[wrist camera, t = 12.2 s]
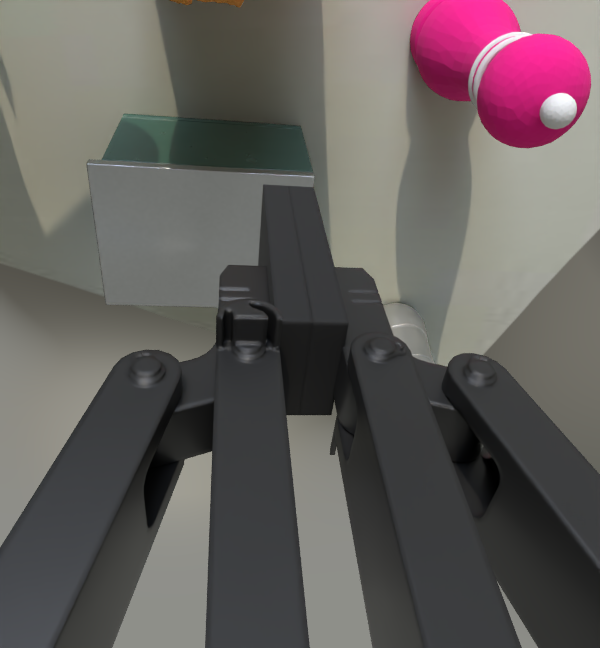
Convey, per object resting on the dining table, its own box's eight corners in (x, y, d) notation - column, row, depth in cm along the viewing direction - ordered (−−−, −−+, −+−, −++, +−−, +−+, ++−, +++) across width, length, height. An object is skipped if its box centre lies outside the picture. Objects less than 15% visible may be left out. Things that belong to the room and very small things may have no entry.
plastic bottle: (360, 345, 63) (401, 495, 48) (362, 296, 59) (408, 444, 44) (416, 340, 64) (475, 488, 48) (422, 291, 60) (488, 436, 44)
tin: (135, 238, 53) (117, 298, 45) (123, 113, 46) (101, 159, 38) (289, 244, 55) (297, 303, 47) (300, 125, 48) (313, 171, 40)
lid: (107, 299, 45) (105, 304, 44) (88, 158, 38) (86, 163, 37) (297, 304, 47) (298, 309, 46) (313, 172, 40) (314, 176, 39)
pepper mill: (390, 70, 46) (471, 167, 30) (425, -31, 41) (541, 19, 26) (468, 93, 47) (585, 195, 32) (510, -2, 43) (668, 61, 27)
